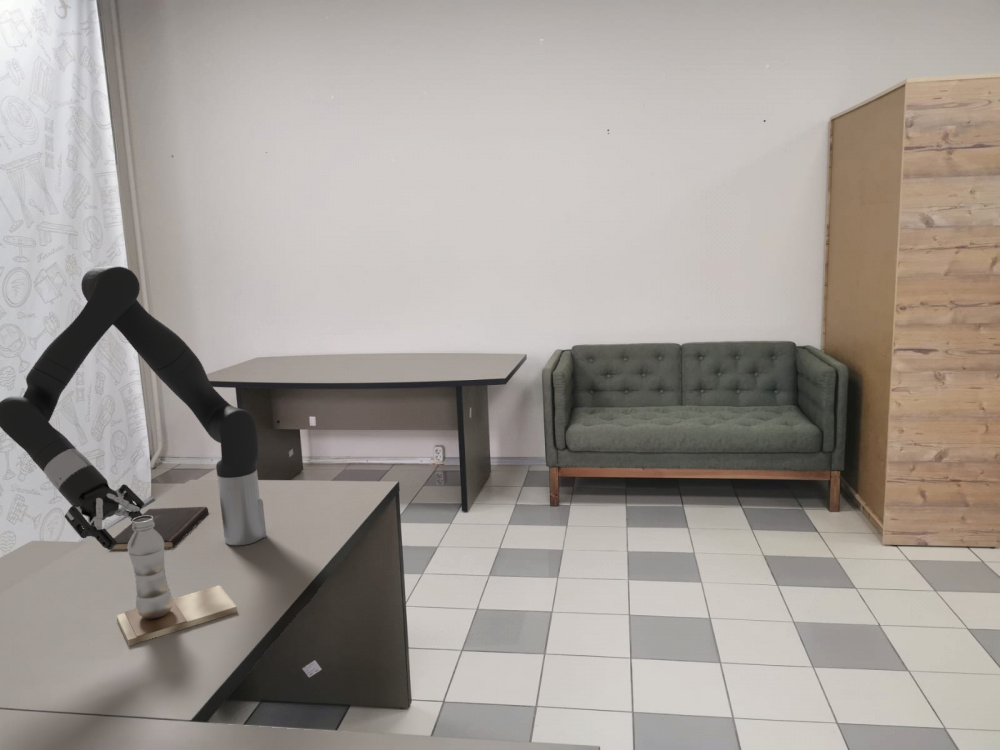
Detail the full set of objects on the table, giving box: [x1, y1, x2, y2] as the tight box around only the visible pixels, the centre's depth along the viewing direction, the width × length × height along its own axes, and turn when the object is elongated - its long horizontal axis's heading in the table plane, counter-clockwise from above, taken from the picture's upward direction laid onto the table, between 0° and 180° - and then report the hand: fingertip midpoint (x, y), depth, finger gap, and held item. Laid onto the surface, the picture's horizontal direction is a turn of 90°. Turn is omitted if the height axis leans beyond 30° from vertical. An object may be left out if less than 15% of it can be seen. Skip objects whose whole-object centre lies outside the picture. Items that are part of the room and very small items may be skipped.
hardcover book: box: [112, 506, 209, 550], centre depth 201 cm, size 16×23×2 cm
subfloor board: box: [116, 585, 238, 647], centre depth 155 cm, size 20×12×1 cm, turn 125°
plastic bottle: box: [127, 515, 174, 619], centre depth 151 cm, size 6×7×20 cm
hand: (130, 537), depth 151 cm, fingers open, 8 cm apart
